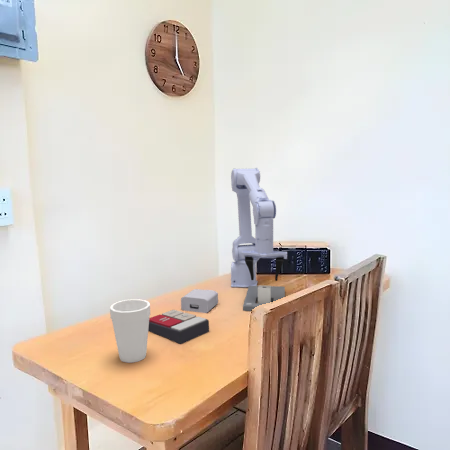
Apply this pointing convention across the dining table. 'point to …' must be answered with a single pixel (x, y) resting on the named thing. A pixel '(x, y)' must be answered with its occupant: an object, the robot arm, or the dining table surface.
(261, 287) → the charger
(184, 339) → the black button box
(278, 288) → the socket board
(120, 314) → the foam cup
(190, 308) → the charger
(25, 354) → the dining table surface
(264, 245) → the robot arm
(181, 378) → the dining table surface
